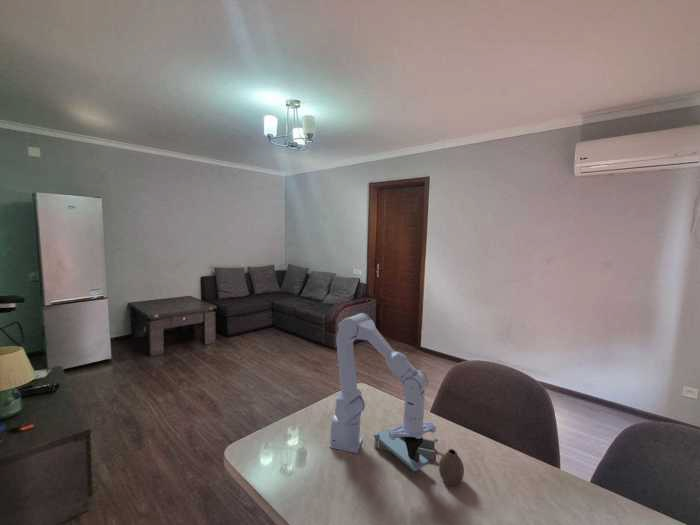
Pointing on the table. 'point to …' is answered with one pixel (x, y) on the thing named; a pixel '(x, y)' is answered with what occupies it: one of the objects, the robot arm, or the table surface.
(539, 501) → the table surface
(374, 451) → the table surface
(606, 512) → the table surface
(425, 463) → the cover
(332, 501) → the table surface
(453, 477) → the vase
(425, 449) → the grey u-channel
